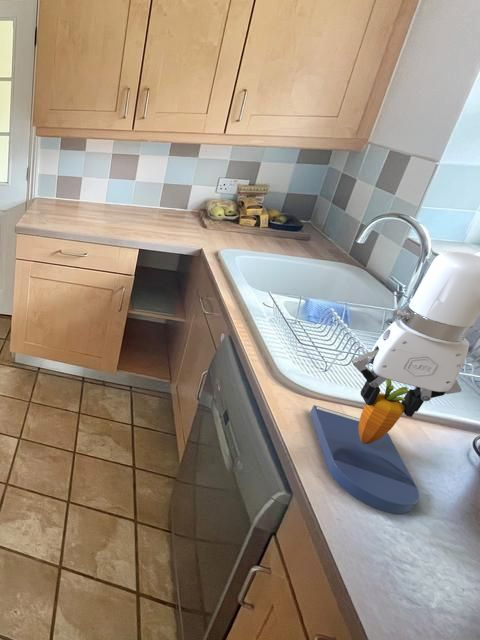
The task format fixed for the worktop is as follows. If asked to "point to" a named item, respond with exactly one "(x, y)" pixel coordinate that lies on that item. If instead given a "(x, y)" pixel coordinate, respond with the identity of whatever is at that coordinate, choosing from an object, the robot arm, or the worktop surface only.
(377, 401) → the carrot
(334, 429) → the board
